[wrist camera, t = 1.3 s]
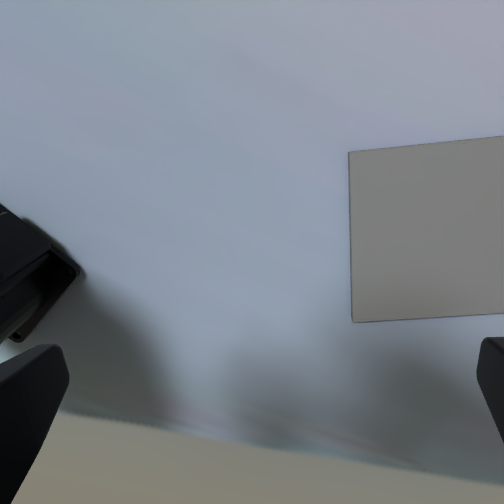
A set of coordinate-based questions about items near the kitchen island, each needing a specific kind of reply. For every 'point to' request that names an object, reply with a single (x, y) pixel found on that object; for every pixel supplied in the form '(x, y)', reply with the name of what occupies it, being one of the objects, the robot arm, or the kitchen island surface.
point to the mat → (427, 230)
